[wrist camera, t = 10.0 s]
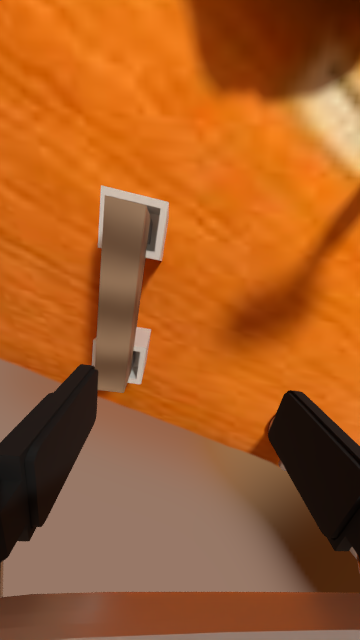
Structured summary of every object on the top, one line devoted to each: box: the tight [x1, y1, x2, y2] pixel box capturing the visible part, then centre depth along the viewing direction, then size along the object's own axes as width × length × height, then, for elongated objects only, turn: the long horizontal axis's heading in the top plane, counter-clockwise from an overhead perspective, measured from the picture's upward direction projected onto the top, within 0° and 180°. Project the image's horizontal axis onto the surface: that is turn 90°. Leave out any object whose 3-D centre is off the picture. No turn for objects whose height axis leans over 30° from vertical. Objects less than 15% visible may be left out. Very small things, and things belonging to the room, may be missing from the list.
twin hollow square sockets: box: [92, 185, 169, 384], centre depth 25 cm, size 24×7×7 cm, turn 169°
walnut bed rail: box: [95, 195, 153, 393], centre depth 21 cm, size 20×4×7 cm, turn 169°
